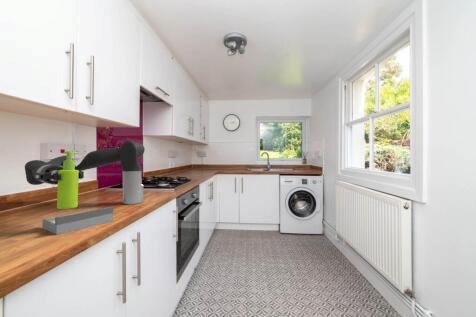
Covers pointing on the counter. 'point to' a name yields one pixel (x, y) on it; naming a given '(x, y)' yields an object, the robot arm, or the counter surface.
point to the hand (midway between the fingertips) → (70, 176)
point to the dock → (77, 220)
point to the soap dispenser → (68, 184)
